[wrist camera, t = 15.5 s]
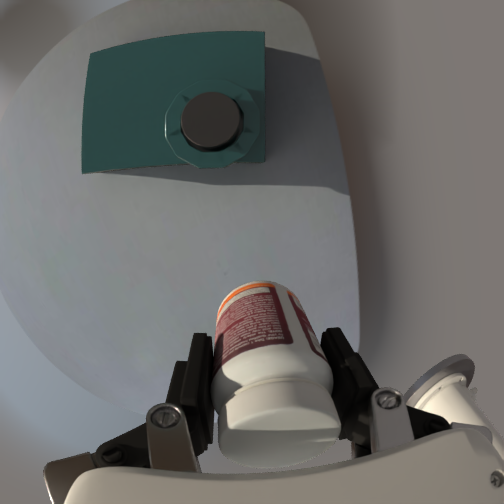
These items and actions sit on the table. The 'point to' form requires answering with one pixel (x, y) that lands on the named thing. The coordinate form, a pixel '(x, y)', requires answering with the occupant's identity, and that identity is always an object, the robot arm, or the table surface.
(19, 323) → the table surface
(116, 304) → the table surface
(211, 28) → the table surface
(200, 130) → the dark grey push button
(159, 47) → the teal rectangular block
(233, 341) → the pill bottle
